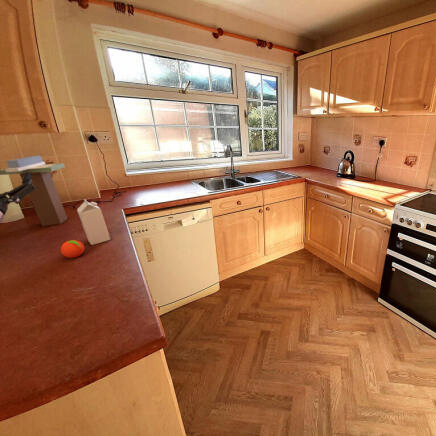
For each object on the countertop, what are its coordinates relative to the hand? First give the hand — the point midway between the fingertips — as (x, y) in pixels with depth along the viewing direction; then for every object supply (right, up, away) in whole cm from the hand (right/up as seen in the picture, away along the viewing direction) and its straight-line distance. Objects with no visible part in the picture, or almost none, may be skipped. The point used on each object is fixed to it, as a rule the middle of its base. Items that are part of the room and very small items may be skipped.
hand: (9, 176), depth 106 cm
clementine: (+37, -34, -9) cm, 51 cm away
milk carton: (+36, -29, +5) cm, 46 cm away
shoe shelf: (-6, -20, +26) cm, 34 cm away
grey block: (-5, +6, +12) cm, 14 cm away
